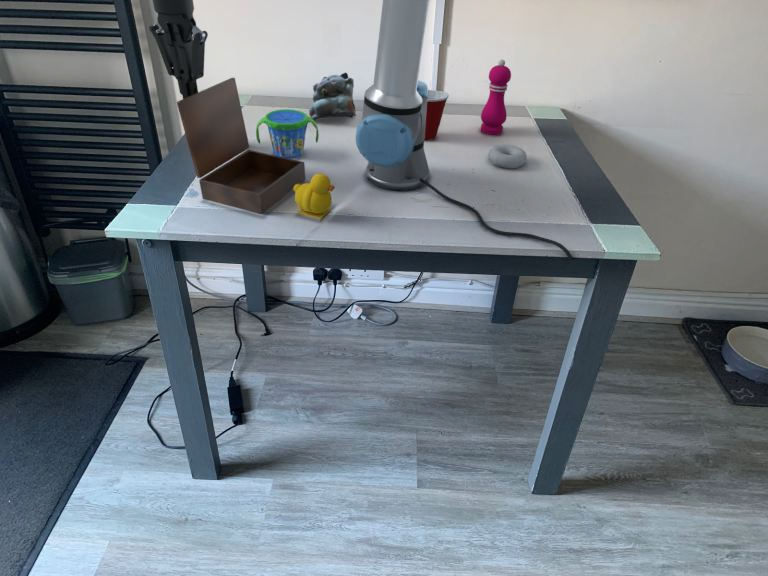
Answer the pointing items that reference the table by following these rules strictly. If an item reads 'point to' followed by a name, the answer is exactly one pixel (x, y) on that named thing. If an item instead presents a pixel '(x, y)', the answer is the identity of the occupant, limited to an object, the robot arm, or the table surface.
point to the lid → (213, 126)
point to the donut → (507, 156)
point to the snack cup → (287, 131)
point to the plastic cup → (434, 112)
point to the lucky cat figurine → (333, 97)
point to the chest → (253, 181)
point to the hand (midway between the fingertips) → (192, 110)
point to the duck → (314, 196)
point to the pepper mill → (496, 100)
